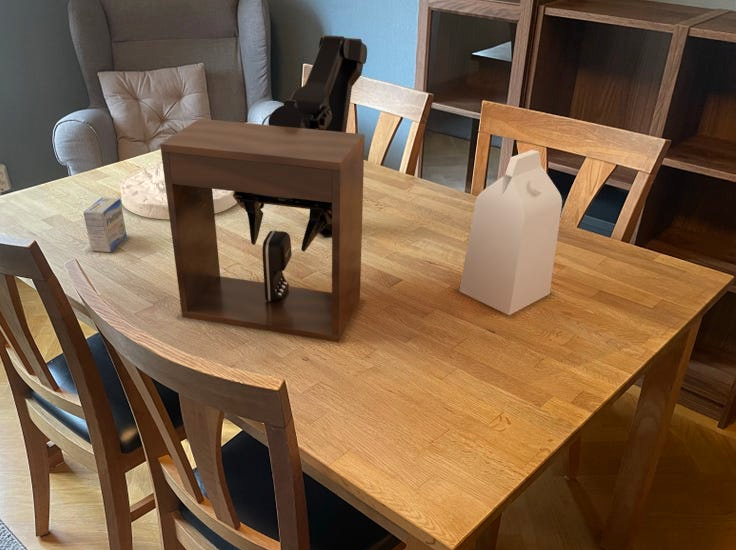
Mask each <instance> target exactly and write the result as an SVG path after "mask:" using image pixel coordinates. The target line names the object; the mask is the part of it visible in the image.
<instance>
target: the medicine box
mask: <svg viewBox="0 0 736 550" xmlns="http://www.w3.org/2000/svg"><path fill="white" fill-rule="evenodd" d="M122 205H123V204H122V200H121V198H116V197H101V198H99V199H98V200H97V201H95V202H94V203H93V204H92V205H91V206H89V207H87V208H86V209H85V210H84V211H83V218H84V224H85V227H86V233H87V238H88V243H89V247H90V250H91V251H93V252H100V253H101V252H103V253H112V252H113V251H114V250H115V249H116V248H117V247H118V246H119V245H120V244H121V243H123V241H124V240H125V239H126V238H127V237H128V235H127V228H126V223H125V218H124V212H123V206H122Z"/></svg>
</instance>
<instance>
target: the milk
mask: <svg viewBox="0 0 736 550" xmlns="http://www.w3.org/2000/svg"><path fill="white" fill-rule="evenodd" d="M562 207H563V199H562V195H561V193H560V191H559V189H558V188H557V187H556V185H555V184H554V182H553V180H552V179H551V178H550V176H549V175H548V173H547V172H546V170H545V169H544V168H543V166H542V160H541V154H540V151H538V150H535V149H531V150H527V151H524V152H522V153H519V154H516V155H513V156H511V157H510V159H509V161H508V164H507V168H506V171H505V174H504V175H503V176H502V177H500V178H498V179H497V180H496V181H494V182H493V183H491V184H490V185H489V186H487V187H486V188H484V189H483V190H482V191H481V192H480V193H479V194H478V195H477V197H476V198H475V203H474V207H473V213H472V217H471V223H470V228H469V236H468V239H467V246H466V252H465V257H464V262H463V267H462V268H463V269H462V272H461V280H460V284H459V290H458V291H459V293H462V294H464V295H466V296H468V297H470V298H472V299H474V300H477V301H478V302H480V303H483V304H485V305H487V306H488V307H491V308H493V309H495V310H497V311H499V312H501V313H503V314H505V315H507V316H511V315H512V314H515V313H516V312H518V311H520V310H522V309H524V308H525V307H528V306H529V305H532V304H533V303H535V302H537V301H539V300H541V299H542V298H544V297H546V296H549V295H550V293H551V286H552V279H553V271H554V265H555V258H556V251H557V242H558V237H559V231H560V229H559V228H560V221H561V215H562Z"/></svg>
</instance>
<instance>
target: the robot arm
mask: <svg viewBox="0 0 736 550" xmlns="http://www.w3.org/2000/svg"><path fill="white" fill-rule="evenodd" d="M367 58H368V47H367V45H366V44H365V43H363V40H362V39H361V38H355V37H345V36H344V35H330V34H325V35H324V36H321V37H320V39H319V44H318V50H317V53H316V56H315V58H314V61H313V64H312V66H311V69H310V70H309V73H308V76H307V79H306V81H305V83H304V85H303V86H301V87H298V89H296V90H295V91H294V92H292V93H293V94H292V95H291V97H290V98H289V99H285V100H284V102H283V105H281V106H278V107H277V108H275V109H274V110H273V111H272V112H271V114H270V115H269V117H268V124H267V125H272V126H282V127H293V128H303V129H314V130H325V131H335V132H346V133H347V128H348V120H349V112H350V106H351V97H352V90H353V86H354V85H355V84H356V82H357V81H358V79H360V78H361V76H362V74H363V68H364V65H365V64H366V62H367ZM233 197H234V199H235V200H236V201H237V204H238V205H239V206H240V208H241V209H244V211H245V212H246V214H247V219H248V225H249V226H248V227H249V235H250V242H251V245H253V246H255V245H256V243H257V241H258V239H259V234H260V230H261V226H262V222H263V217H264V212H263V210H262V209H264V207H265V205H270V206H280V207H286V208H287V207H288V208H296V209H306V210H309V216H308V222H307V225H306V227H305V231H304V235H303V237H302V241H301V249H300V250H301V251H302V252H305V253H306V251H307V250H308V248H309V247H310V245H311V244H312V243H313V241H314V239H315V238H316V237H317V236H318V234H319V235H320V236H322V237H324V238H327V237H332V203H330V202H321V201H313V200H304V199H296V198H287V197H279V196H270V195H262V194H253V193H245V192H236V191H234V192H233Z"/></svg>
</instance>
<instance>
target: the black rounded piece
mask: <svg viewBox="0 0 736 550" xmlns="http://www.w3.org/2000/svg"><path fill="white" fill-rule="evenodd" d="M261 250H262V252H261V253H262V269H263V283H264V287H265V300H268V301H280V300H282V299H283V298H284V296H285V294H286V292H287V290H288V287H289V286H290V284H289V282H287V279H286V278H285V275H284V273H283V272H284V271H285V270H286V268H287V266H288V264H289V263H290V261H291V258H292V255H293V253H292V241H291V235H290V234H289V232H286V231H284V230H283V231H282V230H281V231H280V230H276V229H272V230H270V231H268V233H267V235H266V236H265V238H264V241H263V242H262V248H261Z"/></svg>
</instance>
